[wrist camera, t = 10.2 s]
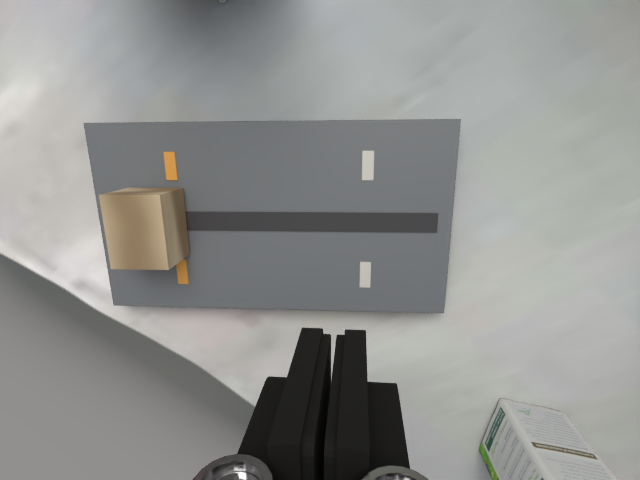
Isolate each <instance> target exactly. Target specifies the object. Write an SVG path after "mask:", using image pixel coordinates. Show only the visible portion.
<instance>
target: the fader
mask: <svg viewBox="0 0 640 480" xmlns="http://www.w3.org/2000/svg"><path fill="white" fill-rule="evenodd" d="M99 199H100V205H101V211H102V217H103V224H104V230H105V236H106V242H107V248H108V254H109V261H110V267H111V269H136V270H170V269H171V268H172V267H173V266H175V265H176V264H177V263H179V262H180V261H181V260H183V259H184V258H185V257H187V256H188V255H189V254H190V252H189V242H188V232H187V223H186V213H185V203H184V194H183V188H125V189H121V190H117V191H113V192H109V193H104V194H100V195H99Z"/></svg>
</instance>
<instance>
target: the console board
mask: <svg viewBox="0 0 640 480" xmlns="http://www.w3.org/2000/svg"><path fill="white" fill-rule="evenodd" d="M460 122H461V119H423V120H327V121H231V122H134V123H84V128H85V134H86V140H87V146H88V152H89V158H90V165H91V171H92V177H93V183H94V189H95V195H96V201H97V207H98V213H99V219H100V225H101V231H102V237H103V243H104V250H105V256H106V262H107V268H108V274H109V280H110V286H111V292H112V298H113V304H114V305H119V306H162V307H204V308H247V309H289V310H331V311H374V312H416V313H444V307H445V296H446V284H447V273H448V261H449V249H450V238H451V226H452V215H453V203H454V191H455V180H456V168H457V157H458V145H459V134H460ZM125 188H183V194H184V203H185V213H186V223H187V232H188V242H189V252H190V254H189V255H188V256H187V257H185V258H184V259H183V260H181V261H180V262H179V263H177V264H176V265H175V266H173V267H172V268H171V269H170V270H136V269H111V267H110V261H109V254H108V248H107V242H106V236H105V230H104V224H103V217H102V211H101V205H100V199H99V195H100V194H104V193H109V192H113V191H117V190H121V189H125Z"/></svg>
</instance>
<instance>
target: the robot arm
mask: <svg viewBox="0 0 640 480" xmlns="http://www.w3.org/2000/svg"><path fill="white" fill-rule="evenodd" d="M193 480H428V479H427V478H426V477H424V476H423V475H421V474H419V473H418V472H416V471H414V470H411V469H410V466H409V459H408V453H407V446H406V440H405V433H404V426H403V420H402V413H401V407H400V400H399V394H398V387H397V384H396V383H378V382H367V355H366V330H345V335H337V338H336V346H335V355H334V364H333V372H332V381H331V335H330V334H323V329H320V328H302V330H301V333H300V336H299V340H298V343H297V346H296V349H295V353H294V356H293V359H292V363H291V366H290V369H289V373H288V376H287V378H286V377H268V378H267V379H266V381H265V384H264V386H263V389H262V391H261V394H260V396H259V399H258V402H257V404H256V407H255V409H254V412H253V415H252V417H251V420H250V422H249V425H248V428H247V431H246V433H245V436H244V438H243V441H242V443H241V446H240V448H239V451H238V453H237V454H235V455H229V456H224V457H222V458H219V459H217V460H215V461H212V462H211V463H210V464H208V465H207V466H205V467H204V468H203V469H201V471H200V472H199V473H198V474H197V475H196V476H195V478H194V479H193Z"/></svg>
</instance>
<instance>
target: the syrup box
mask: <svg viewBox="0 0 640 480" xmlns="http://www.w3.org/2000/svg"><path fill="white" fill-rule="evenodd" d="M479 451H480V453H481V455H482V458H483V460H484V462H485V464H486V467H487V469H488V471H489V474H490V476H491V478H492V480H617V478H616V477H615V476H614V475H613V474H612V472H611V471H610V470H609V469H608V467H607V466H606V465H605V464H604V462H603V461H602V460H601V459H600V457H599V456H598V455H597V454H596V452H595V451H594V450H593V449H592V447H591V446H590V445H589V444H588V443H587V441H586V440H585V439H584V438H583V436H582V435H581V434H580V433H579V431H578V430H577V429H576V428H575V426H574V425H573V424H572V423H571V421H570V420H569V419H568V418H567V416H566V415H565V414H564V413H563V412H560V411H556V410H552V409H548V408H544V407H540V406H535V405H530V404H526V403H521V402H516V401H512V400H507V399H502V398H500V399H499V401H498V406H497V408H496V410H495V413H494V415H493V417H492V419H491V421H490V424H489V426H488V429H487V431H486V434H485V436H484V439H483V441H482V444H481V446H480V449H479Z"/></svg>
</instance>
